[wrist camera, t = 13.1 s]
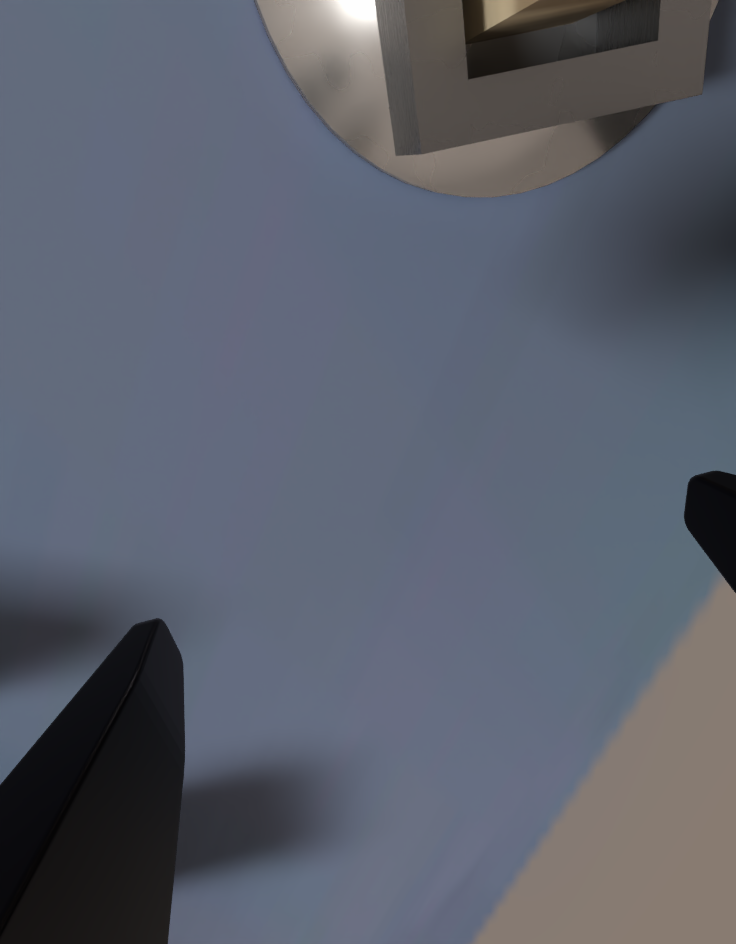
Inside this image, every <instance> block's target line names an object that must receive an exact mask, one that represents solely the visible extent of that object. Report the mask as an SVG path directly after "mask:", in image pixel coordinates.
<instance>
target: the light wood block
mask: <svg viewBox="0 0 736 944" xmlns="http://www.w3.org/2000/svg"><path fill="white" fill-rule="evenodd" d="M622 1H625V0H462V6H463V19H464V32H465V45H467V44H472V43H477V42H482V41H487V40H492V39H497V38H502V37H507V36H512V35H517V34H522V33H527V32H532V31H537V30H542V29H547V28H552V27H557V26H562V25H567V24H572V23H574V22H577V21H579V20H581V19H584V18H586V17H588V16H590V15H593V14H595V13H597V12H600V11H602V10H604V9H606V8H609V7H611V6H613V5H616V4H618V3H620V2H622Z"/></svg>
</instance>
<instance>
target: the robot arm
mask: <svg viewBox="0 0 736 944" xmlns="http://www.w3.org/2000/svg"><path fill="white" fill-rule="evenodd" d="M684 520H685V524H686V526H687V528H688V530H689V531H690V533H691V534H692V536H693V537H694V538H695V540H696V541H697V542H698V544H699V545H700V546H701V548H702V549H703V550H704V552H705V553H706V554H707V556H708V557H709V558H710V560H711V561H712V562H713V564H714V565H715V566H716V568H717V569H718V570H719V572H720V573H721V574H722V576H723V577H724V578H725V580H726V581H727V582H728V584H729V585H730V586H731V588H732V589H733V590H734V592H735V593H736V475H734V474H729V473H725V472H721V471H710V472H707V473H703V474H699V475H695V476H694V477H692V478H691V479H690V481H689V482H688V488H687V496H686V503H685V511H684ZM184 763H185V722H184V674H183V661H182V657H181V654H180V651H179V649H178V647H177V645H176V643H175V641H174V639H173V637H172V635H171V633H170V631H169V629H168V627H167V625H166V624H165V622H164V621H163V620H162V619H159V618H156V619H152V620H148V621H145V622H141V623H138V624H135V625H134V626H133V627H132V628H131V629H130V630H129V631H128V632H127V634H126V635H125V636H124V637H123V638H122V640H121V641H120V642H119V643H118V644H117V646H116V647H115V648H114V649H113V650H112V652H111V653H110V654H109V655H108V656H107V658H106V659H105V660H104V661H103V662H102V664H101V665H100V666H99V667H98V668H97V670H96V671H95V672H94V673H93V674H92V676H91V677H90V678H89V679H88V680H87V682H86V683H85V684H84V685H83V686H82V688H81V689H80V690H79V691H78V692H77V694H76V695H75V696H74V697H73V698H72V700H71V701H70V702H69V703H68V704H67V706H66V707H65V708H64V709H63V710H62V712H61V713H60V714H59V715H58V716H57V718H56V719H55V720H54V721H53V722H52V723H51V725H50V726H49V727H48V728H47V729H46V731H45V732H44V733H43V734H42V735H41V737H40V738H39V739H38V740H37V741H36V743H35V744H34V745H33V746H32V747H31V749H30V750H29V751H28V752H27V753H26V755H25V756H24V757H23V758H22V759H21V761H20V762H19V763H18V764H17V765H16V767H15V768H14V769H13V770H12V771H11V773H10V774H9V775H8V776H7V777H6V779H5V780H4V781H3V782H2V783H1V785H0V944H168V935H169V924H170V914H171V903H172V893H173V882H174V872H175V861H176V851H177V840H178V830H179V819H180V809H181V798H182V788H183V777H184Z"/></svg>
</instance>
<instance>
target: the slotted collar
mask: <svg viewBox="0 0 736 944" xmlns="http://www.w3.org/2000/svg"><path fill="white" fill-rule="evenodd" d="M718 1H719V0H625V1H622V2H620V3H618V4H616V5H613V6H611V7H609V8H606V9H604V10H602V11H600V12H597V13H595V14H593V15H590V16H588V17H586V18H584V19H581V20H579V21H577V22H574V23H572V24H567V25H562V26H557V27H552V28H547V29H542V30H537V31H532V32H527V33H522V34H517V35H512V36H507V37H502V38H497V39H492V40H487V41H482V42H477V43H472V44H467V45H465V32H464V19H463V6H462V0H254V2H255V5H256V7H257V10H258V13H259V15H260V18H261V20H262V23H263V26H264V28H265V31H266V33H267V36H268V38H269V40H270V42H271V44H272V46H273V48H274V50H275V52H276V54H277V56H278V58H279V60H280V62H281V64H282V66H283V67H284V69H285V71H286V73H287V75H288V76H289V78H290V79H291V81H292V82H293V84H294V85H295V87H296V88H297V90H298V91H299V93H300V94H301V96H302V97H303V99H304V100H305V102H306V103H307V105H308V106H309V107H310V108H311V110H312V111H313V112H314V113H315V114H316V115H317V117H318V118H319V119H320V120H321V121H322V123H323V124H324V125H325V126H326V127H327V128H328V130H329V131H330V132H331V133H332V134H334V135H335V136H336V137H337V138H338V139H339V140H340V141H341V142H342V143H343V144H345V145H346V146H347V147H348V148H349V149H350V150H351V151H352V152H353V153H355V154H356V155H358V156H359V157H360V158H362V159H363V160H365V161H366V162H368V163H369V164H371V165H372V166H373V167H375V168H376V169H378V170H379V171H381V172H383V173H385V174H387V175H389V176H391V177H393V178H395V179H397V180H399V181H401V182H403V183H406V184H409V185H412V186H415V187H418V188H421V189H424V190H428V191H431V192H437V193H443V194H449V195H455V196H462V197H498V196H505V195H512V194H518V193H523V192H526V191H529V190H533V189H536V188H540V187H543V186H546V185H549V184H551V183H553V182H555V181H558V180H560V179H562V178H564V177H566V176H569V175H571V174H573V173H575V172H576V171H578V170H580V169H581V168H583V167H585V166H586V165H588V164H589V163H591V162H593V161H594V160H596V159H597V158H599V157H600V156H602V155H603V154H604V153H605V152H607V151H608V150H609V149H610V148H612V147H613V146H614V145H615V144H617V143H618V142H619V141H620V140H622V139H623V138H624V137H625V136H626V135H627V134H628V133H629V132H630V131H631V130H632V129H633V128H634V127H635V126H636V125H637V124H638V123H639V122H640V121H641V120H642V119H643V118H644V117H645V116H646V115H647V114H648V113H649V112H650V111H651V109H652V108H653V107H654V106H655V105H656V104H660V103H664V102H669V101H674V100H678V99H683V98H688V97H692V96H697V95H702V91H703V81H704V71H705V61H706V51H707V41H708V31H709V21H710V19H711V17H712V15H713V12H714V10H715V8H716V5H717V3H718Z"/></svg>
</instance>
